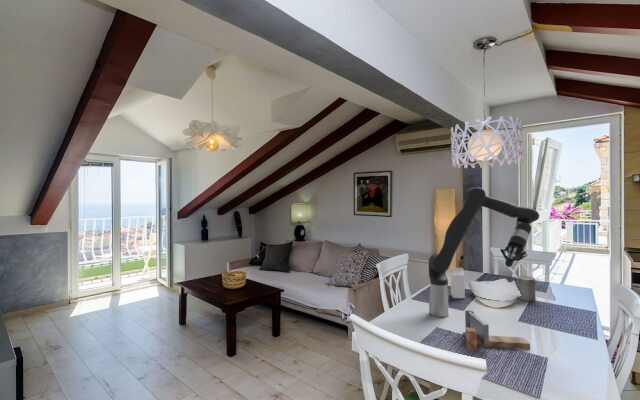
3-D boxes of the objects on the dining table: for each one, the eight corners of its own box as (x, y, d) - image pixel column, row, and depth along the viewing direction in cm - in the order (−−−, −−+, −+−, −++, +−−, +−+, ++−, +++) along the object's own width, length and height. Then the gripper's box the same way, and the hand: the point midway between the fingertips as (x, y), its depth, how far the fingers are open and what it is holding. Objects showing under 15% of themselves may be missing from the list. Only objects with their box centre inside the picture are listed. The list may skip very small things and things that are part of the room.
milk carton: (465, 298, 200) (464, 269, 200) (453, 298, 202) (452, 268, 202) (462, 295, 207) (461, 266, 207) (450, 295, 209) (450, 266, 209)
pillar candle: (532, 297, 201) (531, 274, 201) (537, 302, 192) (536, 277, 192) (515, 296, 204) (514, 273, 204) (519, 301, 195) (518, 276, 195)
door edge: (468, 350, 133) (468, 331, 133) (457, 331, 151) (457, 315, 151) (535, 354, 128) (535, 335, 128) (515, 335, 147) (515, 318, 147)
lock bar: (464, 332, 149) (463, 310, 149) (471, 331, 149) (471, 310, 149) (482, 349, 132) (482, 325, 132) (491, 349, 132) (490, 324, 132)
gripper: (502, 234, 170) (491, 259, 163) (530, 236, 159) (519, 263, 152) (507, 243, 173) (497, 268, 166) (535, 245, 162) (524, 272, 155)
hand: (507, 265), depth 159 cm, fingers closed
